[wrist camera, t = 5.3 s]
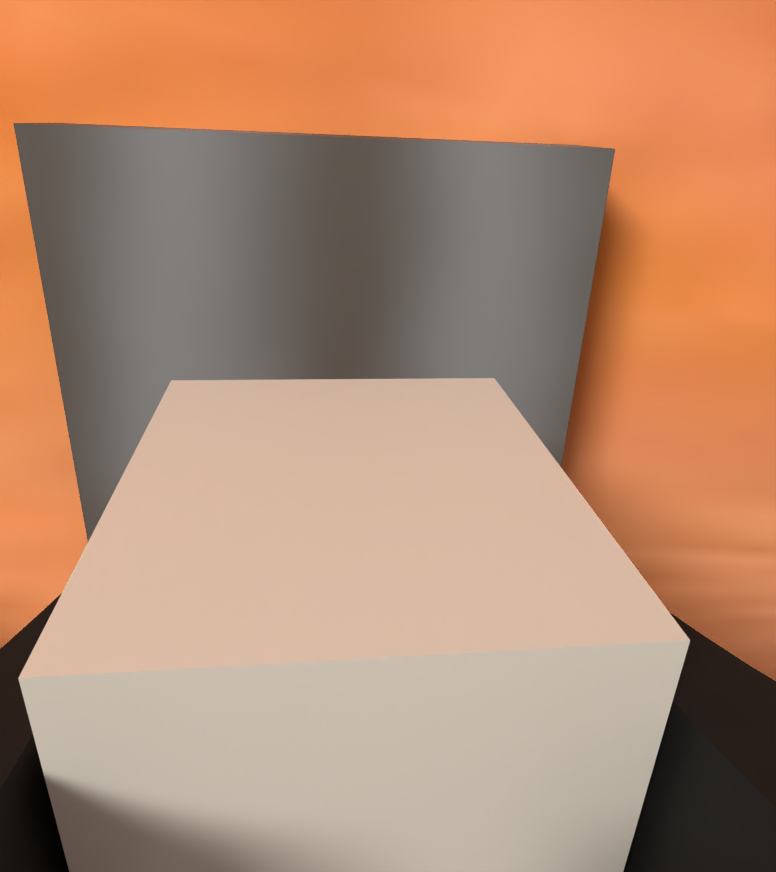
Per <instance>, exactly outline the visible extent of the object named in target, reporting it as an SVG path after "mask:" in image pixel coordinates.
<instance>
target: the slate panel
mask: <svg viewBox="0 0 776 872" xmlns="http://www.w3.org/2000/svg"><path fill="white" fill-rule="evenodd" d="M14 128H15V134H16V139H17V145H18V151H19V156H20V162H21V168H22V173H23V179H24V184H25V190H26V196H27V201H28V207H29V213H30V218H31V224H32V229H33V235H34V241H35V246H36V252H37V258H38V263H39V269H40V275H41V280H42V286H43V291H44V297H45V303H46V308H47V314H48V320H49V325H50V331H51V336H52V342H53V348H54V353H55V359H56V365H57V370H58V376H59V381H60V387H61V393H62V398H63V404H64V410H65V415H66V421H67V426H68V432H69V438H70V443H71V449H72V455H73V460H74V466H75V471H76V477H77V483H78V488H79V494H80V500H81V505H82V511H83V517H84V522H85V528H86V533H87V539H88V541H89V540H90V538H91V536H92V534H93V532H94V530H95V528H96V526H97V524H98V522H99V520H100V518H101V516H102V514H103V512H104V510H105V508H106V506H107V504H108V502H109V501H110V499H111V497H112V495H113V493H114V491H115V489H116V487H117V485H118V483H119V481H120V479H121V477H122V475H123V473H124V471H125V469H126V467H127V465H128V464H129V462H130V460H131V458H132V456H133V454H134V452H135V450H136V448H137V446H138V444H139V442H140V440H141V438H142V436H143V434H144V432H145V430H146V428H147V427H148V425H149V423H150V421H151V419H152V417H153V415H154V413H155V411H156V409H157V407H158V405H159V403H160V401H161V399H162V397H163V395H164V393H165V391H166V390H167V388H168V386H169V384H170V382H171V380H291V379H434V378H495V380H496V381H497V382H498V384H499V385H500V386H501V388H502V389H503V390H504V392H505V393H506V394H507V396H508V397H509V398H510V400H511V401H512V402H513V404H514V405H515V406H516V408H517V409H518V410H519V412H520V413H521V414H522V416H523V417H524V418H525V420H526V421H527V422H528V424H529V425H530V426H531V428H532V429H533V431H534V432H535V433H536V435H537V436H538V437H539V439H540V440H541V441H542V443H543V444H544V445H545V447H546V448H547V449H548V451H549V452H550V453H551V455H552V456H553V457H554V459H555V460H556V461H557V463H558V464H559V465H560V467H561V465H562V459H563V453H564V447H565V441H566V435H567V429H568V424H569V418H570V412H571V406H572V400H573V394H574V388H575V382H576V376H577V371H578V365H579V359H580V353H581V347H582V341H583V335H584V329H585V323H586V317H587V312H588V306H589V300H590V294H591V288H592V282H593V276H594V270H595V264H596V259H597V253H598V247H599V241H600V235H601V229H602V223H603V217H604V211H605V206H606V200H607V194H608V188H609V182H610V176H611V170H612V164H613V158H614V153H615V149H611V148H600V147H589V146H578V145H561V144H538V143H514V142H491V141H468V140H444V139H421V138H397V137H374V136H351V135H327V134H304V133H281V132H257V131H234V130H211V129H187V128H164V127H141V126H117V125H94V124H70V123H14Z"/></svg>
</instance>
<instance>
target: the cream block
mask: <svg viewBox="0 0 776 872" xmlns="http://www.w3.org/2000/svg"><path fill="white" fill-rule="evenodd" d="M689 643H690V639H689V638H688V637H687V635H686V634H685V633H684V631H683V630H682V629H681V627H680V626H679V625H678V623H677V622H676V621H675V619H674V618H673V617H672V615H671V614H670V613H669V611H668V610H667V609H666V607H665V606H664V605H663V603H662V602H661V601H660V599H659V598H658V597H657V595H656V594H655V593H654V591H653V590H652V589H651V587H650V586H649V584H648V583H647V582H646V580H645V579H644V578H643V576H642V575H641V574H640V572H639V571H638V570H637V568H636V567H635V566H634V564H633V563H632V562H631V560H630V559H629V558H628V556H627V555H626V554H625V552H624V551H623V550H622V548H621V547H620V546H619V544H618V543H617V542H616V540H615V539H614V538H613V536H612V535H611V534H610V532H609V531H608V530H607V528H606V527H605V526H604V524H603V523H602V522H601V520H600V519H599V518H598V516H597V515H596V514H595V512H594V511H593V510H592V508H591V507H590V505H589V504H588V503H587V501H586V500H585V499H584V497H583V496H582V495H581V493H580V492H579V491H578V489H577V488H576V487H575V485H574V484H573V483H572V481H571V480H570V479H569V477H568V476H567V475H566V473H565V472H564V471H563V469H562V468H561V467H560V465H559V464H558V463H557V461H556V460H555V459H554V457H553V456H552V455H551V453H550V452H549V451H548V449H547V448H546V447H545V445H544V444H543V443H542V441H541V440H540V439H539V437H538V436H537V435H536V433H535V432H534V431H533V429H532V428H531V426H530V425H529V424H528V422H527V421H526V420H525V418H524V417H523V416H522V414H521V413H520V412H519V410H518V409H517V408H516V406H515V405H514V404H513V402H512V401H511V400H510V398H509V397H508V396H507V394H506V393H505V392H504V390H503V389H502V388H501V386H500V385H499V384H498V382H497V381H496V380H495V378H434V379H291V380H171V382H170V384H169V386H168V388H167V390H166V391H165V393H164V395H163V397H162V399H161V401H160V403H159V405H158V407H157V409H156V411H155V413H154V415H153V417H152V419H151V421H150V423H149V425H148V427H147V428H146V430H145V432H144V434H143V436H142V438H141V440H140V442H139V444H138V446H137V448H136V450H135V452H134V454H133V456H132V458H131V460H130V462H129V464H128V465H127V467H126V469H125V471H124V473H123V475H122V477H121V479H120V481H119V483H118V485H117V487H116V489H115V491H114V493H113V495H112V497H111V499H110V501H109V502H108V504H107V506H106V508H105V510H104V512H103V514H102V516H101V518H100V520H99V522H98V524H97V526H96V528H95V530H94V532H93V534H92V536H91V538H90V540H89V541H88V543H87V545H86V547H85V549H84V551H83V553H82V555H81V557H80V559H79V561H78V563H77V565H76V567H75V569H74V571H73V573H72V575H71V577H70V578H69V580H68V582H67V584H66V586H65V588H64V590H63V592H62V594H61V596H60V598H59V600H58V602H57V604H56V606H55V608H54V610H53V612H52V614H51V615H50V617H49V619H48V621H47V623H46V625H45V627H44V629H43V631H42V633H41V635H40V637H39V639H38V641H37V643H36V645H35V647H34V649H33V651H32V652H31V654H30V656H29V658H28V660H27V662H26V664H25V666H24V668H23V670H22V672H21V674H20V676H19V678H18V679H19V683H20V687H21V691H22V694H23V698H24V702H25V706H26V709H27V713H28V717H29V721H30V725H31V728H32V732H33V736H34V740H35V744H36V747H37V751H38V755H39V759H40V763H41V766H42V770H43V774H44V778H45V781H46V785H47V789H48V793H49V797H50V800H51V804H52V808H53V812H54V816H55V819H56V823H57V827H58V831H59V835H60V838H61V842H62V846H63V850H64V853H65V857H66V861H67V865H68V869H69V872H623V871H624V867H625V864H626V861H627V857H628V854H629V850H630V847H631V843H632V840H633V836H634V833H635V829H636V826H637V823H638V819H639V816H640V812H641V809H642V805H643V802H644V798H645V795H646V791H647V788H648V785H649V781H650V778H651V774H652V771H653V767H654V764H655V760H656V757H657V753H658V750H659V746H660V743H661V740H662V736H663V733H664V729H665V726H666V722H667V719H668V715H669V712H670V708H671V705H672V702H673V698H674V695H675V691H676V688H677V684H678V681H679V677H680V674H681V670H682V667H683V664H684V660H685V657H686V653H687V650H688V646H689Z"/></svg>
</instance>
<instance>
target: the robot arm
mask: <svg viewBox="0 0 776 872" xmlns="http://www.w3.org/2000/svg"><path fill="white" fill-rule="evenodd" d="M61 594H62V593H61ZM61 594H60V595H59V596H58V597H57V598H56V599H55V600H54V601H53V602H52V603H51V604H50V605H49V606H48V607H46V608H45V609H44V610H43V611H42V612H41V613H40V614H39V615H38V616H37V617H35V618H34V619H33V620H32V621H31V622H30V623H29V624H28V625H27V626H26V627H24V628H23V629H22V630H21V631H20V632H19V633H18V634H17V635H16V636H14V637H13V638H12V639H11V640H10V641H9V642H8V643H7V644H6V645H4V646H3V647H2V648H1V649H0V872H69V869H68V865H67V861H66V857H65V853H64V850H63V846H62V842H61V838H60V835H59V831H58V827H57V823H56V819H55V816H54V812H53V808H52V804H51V800H50V797H49V793H48V789H47V785H46V781H45V778H44V774H43V770H42V766H41V763H40V759H39V755H38V751H37V747H36V744H35V740H34V736H33V732H32V728H31V725H30V721H29V717H28V713H27V709H26V706H25V702H24V698H23V694H22V691H21V687H20V683H19V679H18V678H19V676H20V674H21V672H22V670H23V668H24V666H25V664H26V662H27V660H28V658H29V656H30V654H31V652H32V651H33V649H34V647H35V645H36V643H37V641H38V639H39V637H40V635H41V633H42V631H43V629H44V627H45V625H46V623H47V621H48V619H49V617H50V615H51V614H52V612H53V610H54V608H55V606H56V604H57V602H58V600H59V598H60V596H61ZM669 613H670V612H669ZM670 614H671V613H670ZM671 615H672V617H673V618H674V619H675V621H676V622H677V623H678V625H679V626H680V627H681V629H682V630H683V631H684V633H685V634H686V635H687V637H688V638H689V639H690V643H689V646H688V650H687V653H686V657H685V660H684V664H683V667H682V670H681V674H680V677H679V681H678V684H677V688H676V691H675V695H674V698H673V702H672V705H671V708H670V712H669V715H668V719H667V722H666V726H665V729H664V733H663V736H662V740H661V743H660V746H659V750H658V753H657V757H656V760H655V764H654V767H653V771H652V774H651V778H650V781H649V785H648V788H647V791H646V795H645V798H644V802H643V805H642V809H641V812H640V816H639V819H638V823H637V826H636V829H635V833H634V836H633V840H632V843H631V847H630V850H629V854H628V857H627V861H626V864H625V867H624V871H623V872H776V681H774V680H772V679H771V678H769V677H767V676H766V675H764V674H762V673H761V672H759V671H757V670H756V669H754V668H753V667H751V666H749V665H748V664H746V663H745V662H743V661H741V660H740V659H738V658H737V657H735V656H734V655H732V654H731V653H729V652H728V651H726V650H725V649H723V648H722V647H720V646H718V645H717V644H715V643H714V642H712V641H711V640H709V639H708V638H706V637H705V636H703V635H702V634H700V633H699V632H697V631H696V630H694V629H693V628H691V627H690V626H689V625H687V624H686V623H684V622H683V621H681V620H680V619H678V618H677V617H676V616H674V615H673V614H671Z"/></svg>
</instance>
